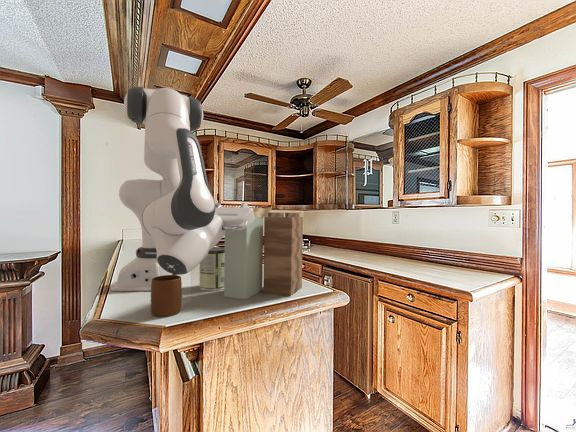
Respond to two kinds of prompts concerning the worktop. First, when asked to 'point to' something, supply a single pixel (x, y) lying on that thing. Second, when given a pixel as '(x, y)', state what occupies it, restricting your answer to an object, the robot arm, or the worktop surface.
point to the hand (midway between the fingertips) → (232, 204)
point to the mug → (166, 295)
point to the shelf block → (244, 261)
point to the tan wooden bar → (258, 211)
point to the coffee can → (212, 270)
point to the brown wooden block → (282, 253)
